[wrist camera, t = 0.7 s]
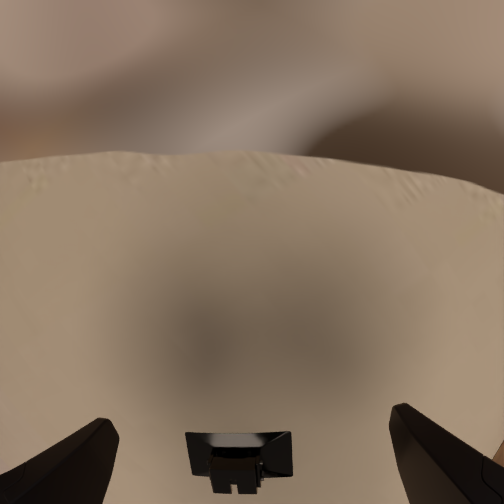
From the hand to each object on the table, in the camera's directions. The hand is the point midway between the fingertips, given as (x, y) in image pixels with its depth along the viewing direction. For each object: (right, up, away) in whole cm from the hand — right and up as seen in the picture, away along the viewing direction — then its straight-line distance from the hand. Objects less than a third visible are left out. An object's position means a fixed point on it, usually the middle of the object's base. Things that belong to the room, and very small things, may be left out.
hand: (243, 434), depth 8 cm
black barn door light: (-1, -13, +16) cm, 20 cm away
